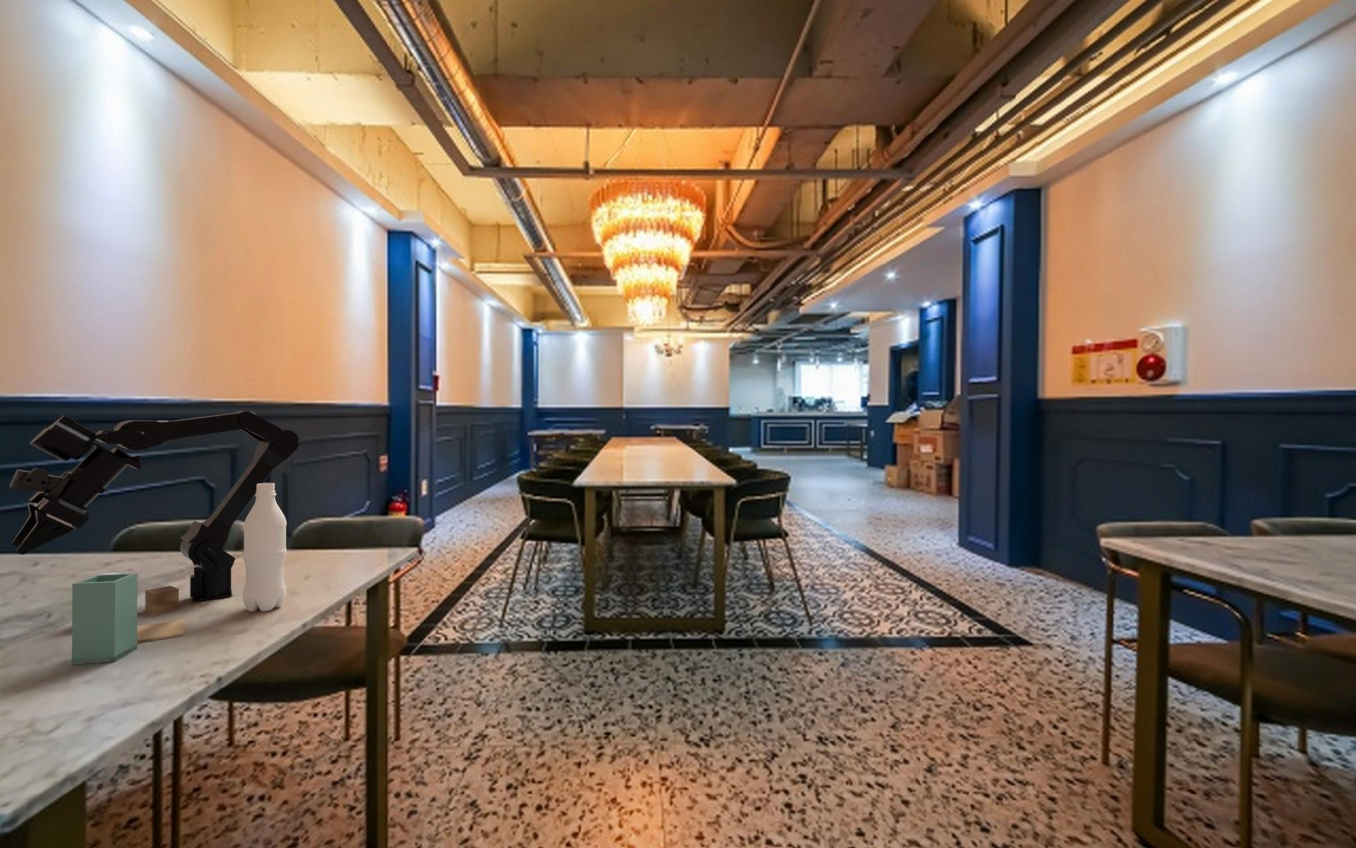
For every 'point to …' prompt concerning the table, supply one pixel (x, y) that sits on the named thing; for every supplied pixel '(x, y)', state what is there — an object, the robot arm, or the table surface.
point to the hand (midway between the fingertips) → (16, 549)
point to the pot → (104, 618)
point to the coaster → (160, 630)
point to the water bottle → (264, 552)
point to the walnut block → (161, 599)
